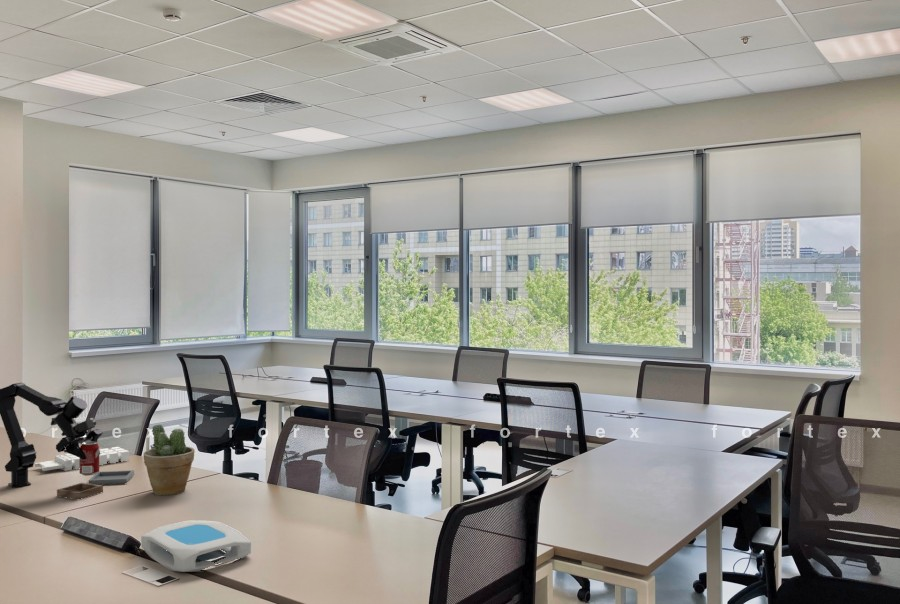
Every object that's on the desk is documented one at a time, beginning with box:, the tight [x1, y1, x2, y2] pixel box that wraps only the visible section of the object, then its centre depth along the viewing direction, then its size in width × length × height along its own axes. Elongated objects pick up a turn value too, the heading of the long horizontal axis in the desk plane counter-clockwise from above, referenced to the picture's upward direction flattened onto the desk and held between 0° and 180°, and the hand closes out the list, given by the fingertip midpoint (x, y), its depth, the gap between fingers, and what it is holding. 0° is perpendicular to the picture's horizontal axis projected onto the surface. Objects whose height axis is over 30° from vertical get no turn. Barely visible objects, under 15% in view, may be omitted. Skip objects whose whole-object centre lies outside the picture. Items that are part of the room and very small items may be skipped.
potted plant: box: [143, 424, 195, 496], centre depth 280 cm, size 18×19×25 cm
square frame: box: [56, 482, 104, 500], centre depth 275 cm, size 11×11×2 cm
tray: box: [87, 469, 135, 486], centre depth 296 cm, size 14×14×2 cm
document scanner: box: [140, 519, 252, 573], centre depth 214 cm, size 21×28×6 cm
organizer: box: [34, 446, 130, 472], centre depth 321 cm, size 13×5×35 cm
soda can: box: [79, 441, 100, 477], centre depth 279 cm, size 7×7×12 cm
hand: (92, 456), depth 279 cm, fingers closed on soda can, 7 cm apart
